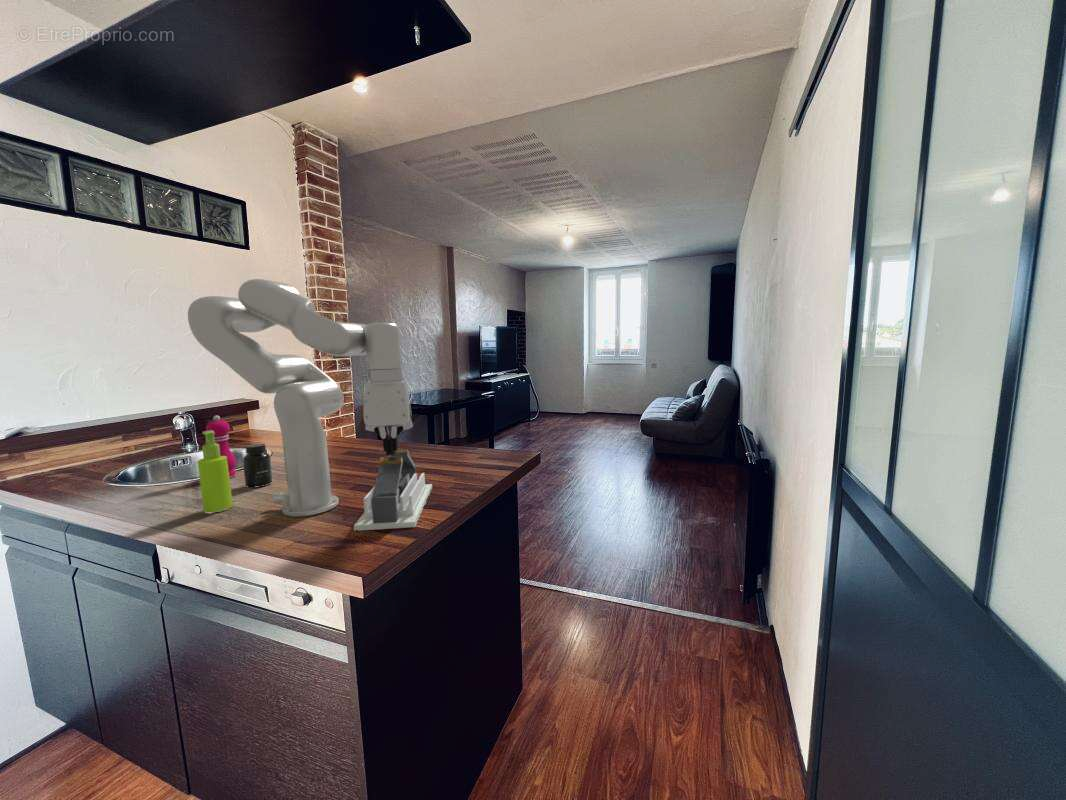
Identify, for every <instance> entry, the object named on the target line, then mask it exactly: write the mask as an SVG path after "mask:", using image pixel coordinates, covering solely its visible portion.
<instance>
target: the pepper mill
mask: <svg viewBox="0 0 1066 800" xmlns="http://www.w3.org/2000/svg"><path fill="white" fill-rule="evenodd" d="M212 419H213V420H211V421H209V422H208V423H207V425H206V427H205V431H211V430H213V431H214V432H215V435H214V441H215V443H217V444H219V447H220V455H221V456H226V457H227V462H228V470H229V477H230V476H233V475H235V474H236V475H237V472H236V469H234V468H235V466H237V459H236V458H235V456H234V454H233V453H232V451H231V449H230V446H229V441H228V440H229V439H230V437H229V434H228V433H229V432H230V430H231V429H230V424H229V423H228V422H227V421H225V420H221V417H220V416H219V415H214V416H213V417H212Z"/></svg>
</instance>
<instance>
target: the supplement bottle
mask: <svg viewBox="0 0 1066 800" xmlns="http://www.w3.org/2000/svg"><path fill="white" fill-rule="evenodd" d="M266 451H267V449H266V444H265V443H256V444H255V443H254V444H249V445H246V446H245V452H246V455H244V456H243V458H242V462H243V464H242V465H243V475H244V484H245V487H246V486H248V487H255V486H262V485H266V484H269V483H271V482H272V483H273V474H272V473H273V472H272V460H271V455H270V454H269V453H268V452H266ZM272 483H271V484H272ZM269 485H270V484H269ZM248 487H247V488H248Z"/></svg>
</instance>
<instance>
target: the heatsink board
mask: <svg viewBox="0 0 1066 800" xmlns="http://www.w3.org/2000/svg"><path fill="white" fill-rule="evenodd" d="M425 475H426V474H425V472H422V473H421V474H420V476H419V478H418V473H417V465H415V468H413V469H402V470H401V475H400V481H399V486H398V492H397V496H396V495H394V496H376V497H374V496H373V491H374V487H375V485H374V486H373V487H372V488H371V490H370V491H368V493H367V494H366V495H365V497H363V507H364V510H363V511H364V512H363V513H362V514H361V516H360V517H359V518H358V520H357V521H356V522H355V523H354V524H353V531H354V532H356V530H358V531H371V530H372V531H374V530H386V529H387V530H389V529H404V528H416V525H417V523H418V522H417V521H419V519H420V517H421V515H422V513H423V510H424V508H423V507H425V506H424V505H426V503H427V501H428V499H427V498H429V497H428V496H430V495H431V492H432V490H433V483H428V484H427V483H426V478H425V477H426V476H425ZM431 489H432V490H431ZM430 491H431V492H430ZM426 500H427V501H426ZM420 514H421V515H420Z"/></svg>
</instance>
